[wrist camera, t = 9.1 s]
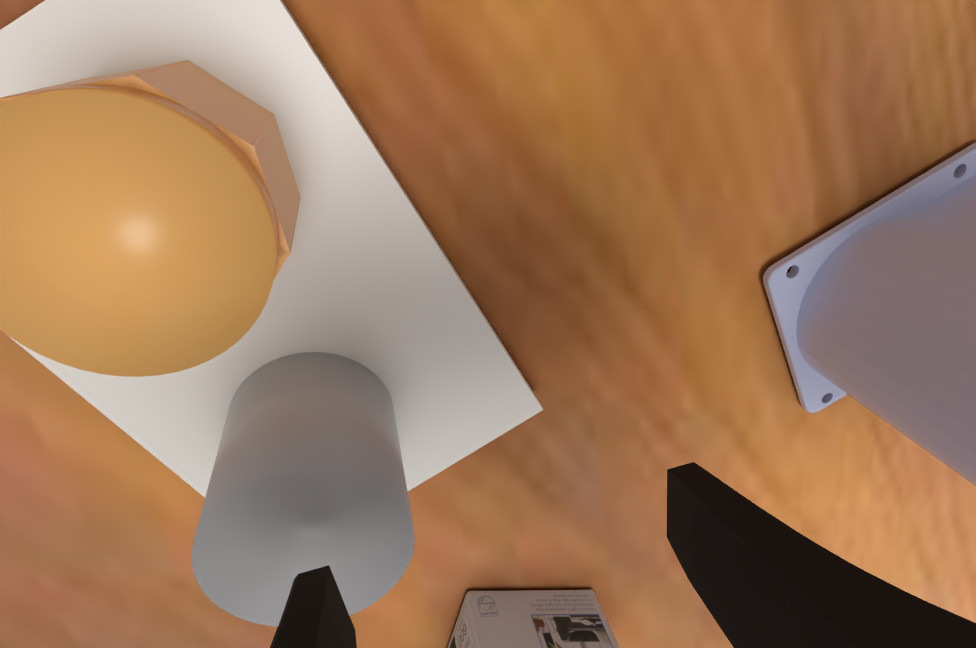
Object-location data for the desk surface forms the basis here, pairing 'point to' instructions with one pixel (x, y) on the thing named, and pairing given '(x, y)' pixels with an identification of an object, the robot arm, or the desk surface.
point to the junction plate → (296, 324)
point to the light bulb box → (532, 620)
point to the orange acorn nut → (140, 219)
